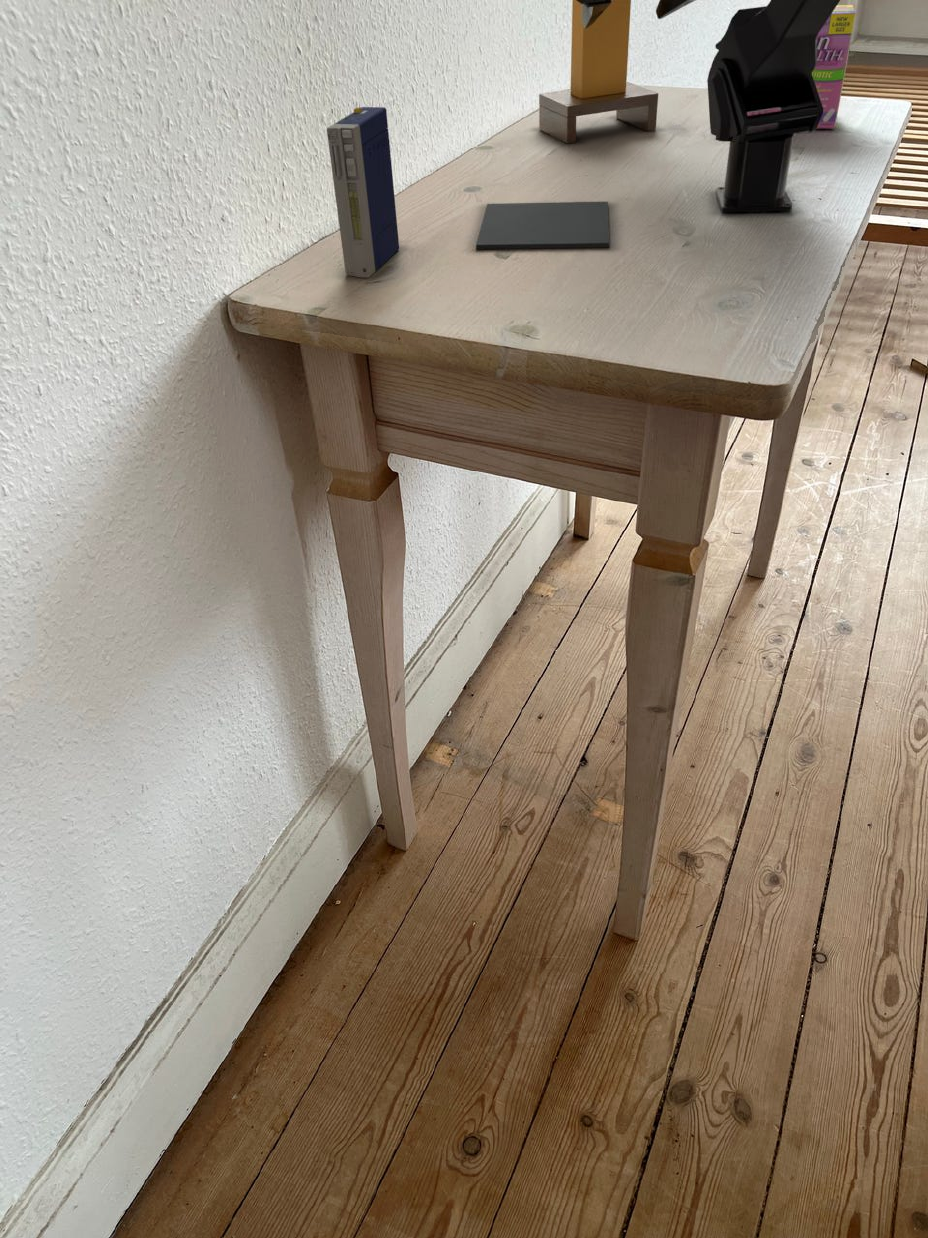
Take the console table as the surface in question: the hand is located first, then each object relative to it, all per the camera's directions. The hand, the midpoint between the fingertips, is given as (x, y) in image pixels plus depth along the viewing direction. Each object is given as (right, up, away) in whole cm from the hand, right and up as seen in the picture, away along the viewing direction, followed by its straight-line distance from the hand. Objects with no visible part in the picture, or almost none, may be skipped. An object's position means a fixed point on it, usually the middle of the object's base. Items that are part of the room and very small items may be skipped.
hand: (621, 19), depth 104 cm
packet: (-1, -3, +9) cm, 10 cm away
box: (+22, -7, +9) cm, 25 cm away
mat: (-10, -29, -15) cm, 35 cm away
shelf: (-1, -6, +11) cm, 13 cm away
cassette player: (-26, -35, -20) cm, 48 cm away
